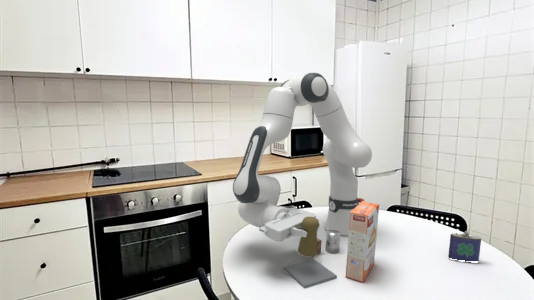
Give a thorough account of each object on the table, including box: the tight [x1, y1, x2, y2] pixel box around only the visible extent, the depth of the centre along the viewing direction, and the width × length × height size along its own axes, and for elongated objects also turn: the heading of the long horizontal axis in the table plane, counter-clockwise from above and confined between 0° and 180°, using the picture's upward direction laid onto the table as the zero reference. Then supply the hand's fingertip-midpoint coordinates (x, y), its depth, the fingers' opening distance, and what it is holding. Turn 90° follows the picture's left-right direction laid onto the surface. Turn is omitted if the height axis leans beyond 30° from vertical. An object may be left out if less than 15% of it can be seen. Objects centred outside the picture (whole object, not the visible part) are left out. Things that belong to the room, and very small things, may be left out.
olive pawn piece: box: [297, 217, 320, 258], centre depth 93 cm, size 6×6×11 cm
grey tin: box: [324, 229, 341, 255], centre depth 110 cm, size 5×5×7 cm
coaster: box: [282, 258, 338, 289], centre depth 95 cm, size 12×12×1 cm
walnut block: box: [316, 237, 323, 256], centre depth 108 cm, size 5×5×5 cm
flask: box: [447, 230, 482, 262], centre depth 104 cm, size 9×3×11 cm, turn 74°
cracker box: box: [345, 200, 380, 283], centre depth 96 cm, size 14×6×21 cm, turn 148°
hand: (312, 232), depth 92 cm, fingers closed on olive pawn piece, 4 cm apart
